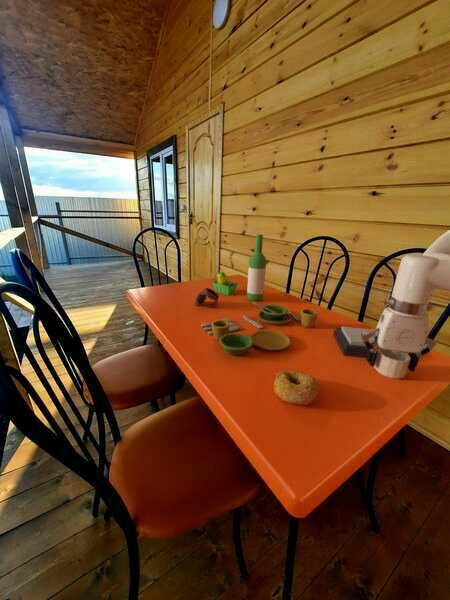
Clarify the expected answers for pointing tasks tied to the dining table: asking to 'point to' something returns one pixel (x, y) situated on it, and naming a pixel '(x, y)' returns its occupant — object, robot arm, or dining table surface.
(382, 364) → the bowl
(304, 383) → the bagel
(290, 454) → the dining table surface
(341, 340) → the scale
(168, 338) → the dining table surface
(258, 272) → the wine bottle
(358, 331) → the weigh platform
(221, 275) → the fruit basket
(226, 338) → the tableware set
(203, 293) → the dark brown arch
